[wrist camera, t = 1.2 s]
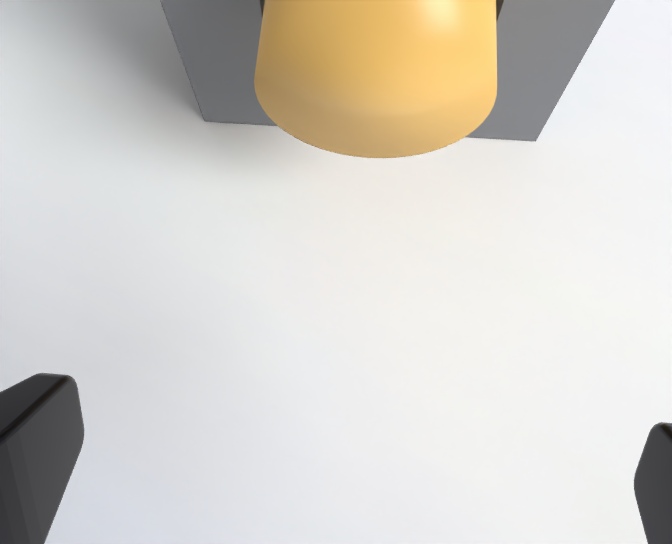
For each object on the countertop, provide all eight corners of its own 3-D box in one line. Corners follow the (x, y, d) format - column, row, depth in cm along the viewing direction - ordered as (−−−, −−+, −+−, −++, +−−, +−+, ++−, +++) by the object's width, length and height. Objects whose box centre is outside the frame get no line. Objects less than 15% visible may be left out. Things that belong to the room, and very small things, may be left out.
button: (470, 163, 18) (527, 20, 13) (267, 151, 19) (236, 4, 13) (470, 0, 20) (521, -187, 15) (287, -10, 21) (268, -198, 15)
